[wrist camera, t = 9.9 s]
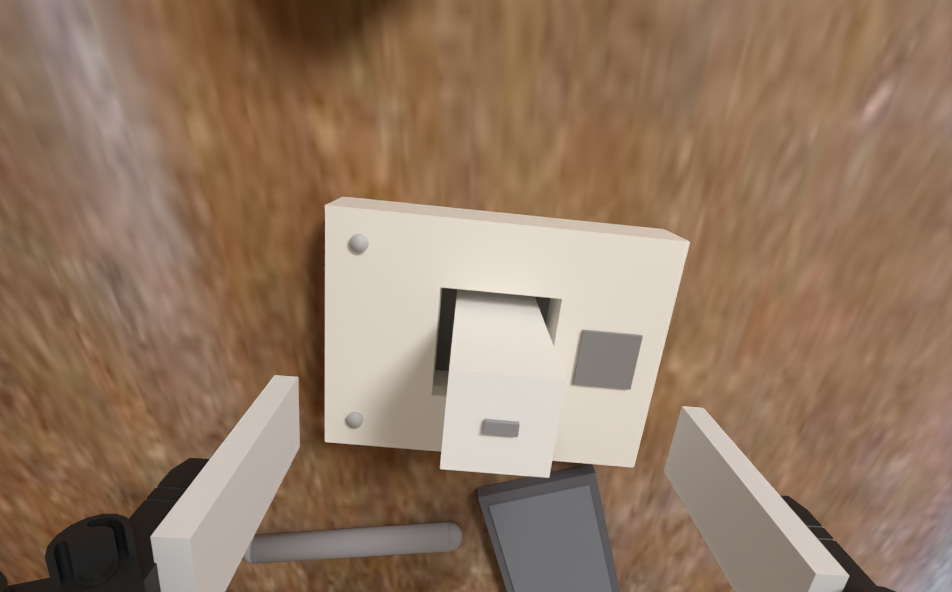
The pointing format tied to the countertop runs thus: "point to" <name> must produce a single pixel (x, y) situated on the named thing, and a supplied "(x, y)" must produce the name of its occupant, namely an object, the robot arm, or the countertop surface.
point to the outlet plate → (500, 271)
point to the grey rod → (354, 542)
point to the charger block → (501, 387)
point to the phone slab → (550, 533)
